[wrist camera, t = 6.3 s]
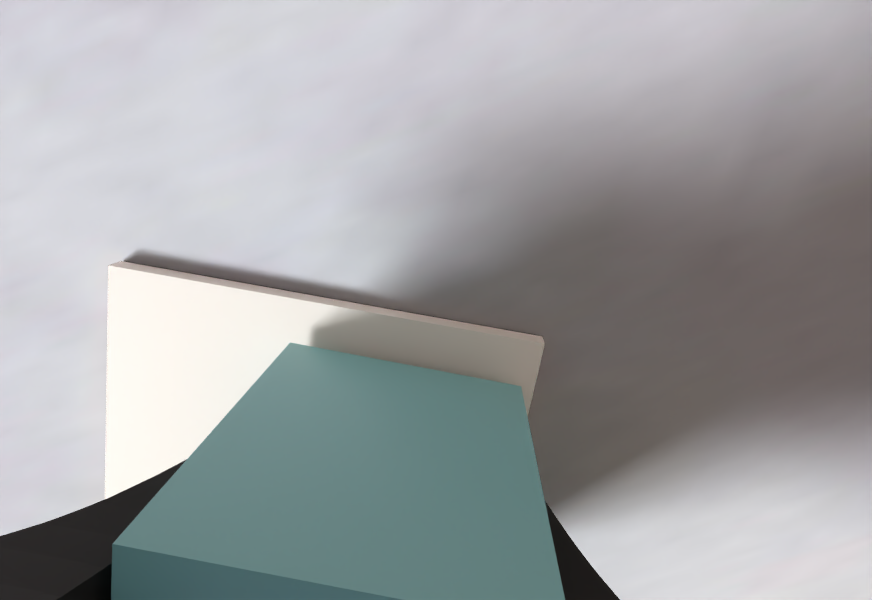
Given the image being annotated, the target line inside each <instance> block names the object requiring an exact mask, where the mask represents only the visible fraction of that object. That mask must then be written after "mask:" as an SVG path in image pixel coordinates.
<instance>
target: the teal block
mask: <svg viewBox="0 0 872 600" xmlns="http://www.w3.org/2000/svg"><path fill="white" fill-rule="evenodd" d="M111 600H565V597H564V592H563V587H562V582H561V577H560V572H559V567H558V563H557V558H556V553H555V548H554V543H553V538H552V533H551V529H550V524H549V519H548V514H547V509H546V504H545V500H544V495H543V490H542V485H541V480H540V475H539V470H538V466H537V461H536V456H535V451H534V446H533V441H532V436H531V432H530V427H529V422H528V417H527V412H526V407H525V403H524V398H523V393H522V388H521V386H517V385H512V384H507V383H502V382H496V381H491V380H486V379H480V378H475V377H470V376H465V375H459V374H454V373H449V372H444V371H438V370H433V369H428V368H422V367H417V366H412V365H407V364H401V363H396V362H391V361H385V360H380V359H375V358H370V357H364V356H359V355H354V354H349V353H343V352H338V351H333V350H327V349H322V348H317V347H312V346H306V345H301V344H296V343H291V342H290V343H289V344H288V345H287V347H286V348H285V349H284V350H283V351H282V352H281V353H280V354H279V356H278V357H277V358H276V359H275V360H274V361H273V362H272V364H271V365H270V366H269V367H268V368H267V369H266V370H265V371H264V373H263V374H262V375H261V376H260V377H259V378H258V379H257V381H256V382H255V383H254V384H253V385H252V386H251V387H250V388H249V390H248V391H247V392H246V393H245V394H244V395H243V396H242V398H241V399H240V400H239V401H238V402H237V403H236V404H235V405H234V407H233V408H232V409H231V410H230V411H229V412H228V413H227V415H226V416H225V417H224V418H223V419H222V420H221V421H220V422H219V424H218V425H217V426H216V427H215V428H214V429H213V430H212V432H211V433H210V434H209V435H208V436H207V437H206V438H205V439H204V441H203V442H202V443H201V444H200V445H199V446H198V447H197V449H196V450H195V451H194V452H193V453H192V454H191V455H190V456H189V458H188V459H187V460H186V461H185V462H184V463H183V464H182V466H181V467H180V468H179V469H178V470H177V471H176V472H175V473H174V475H173V476H172V477H171V478H170V479H169V480H168V481H167V483H166V484H165V485H164V486H163V487H162V488H161V489H160V490H159V492H158V493H157V494H156V495H155V496H154V497H153V498H152V500H151V501H150V502H149V503H148V504H147V505H146V506H145V507H144V509H143V510H142V511H141V512H140V513H139V514H138V515H137V517H136V518H135V519H134V520H133V521H132V522H131V523H130V525H129V526H128V527H127V528H126V529H125V530H124V531H123V532H122V534H121V535H120V536H119V537H118V538H117V539H116V540H115V542H114V543H113V544H112V578H111Z"/></svg>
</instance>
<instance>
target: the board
mask: <svg viewBox="0 0 872 600" xmlns="http://www.w3.org/2000/svg"><path fill="white" fill-rule="evenodd" d="M290 342H291V343H296V344H301V345H306V346H312V347H317V348H322V349H327V350H333V351H338V352H343V353H349V354H354V355H359V356H364V357H370V358H375V359H380V360H385V361H391V362H396V363H401V364H407V365H412V366H417V367H422V368H428V369H433V370H438V371H444V372H449V373H454V374H459V375H465V376H470V377H475V378H480V379H486V380H491V381H496V382H502V383H507V384H512V385H517V386H521V388H522V393H523V398H524V403H525V407H526V412H527V417H528V414H529V410H530V405H531V401H532V397H533V393H534V388H535V384H536V380H537V375H538V371H539V367H540V363H541V358H542V354H543V350H544V345H545V342H544V340H543V337H542V336H537V335H531V334H526V333H520V332H515V331H509V330H504V329H498V328H492V327H487V326H481V325H476V324H470V323H464V322H459V321H453V320H448V319H442V318H436V317H431V316H425V315H420V314H414V313H409V312H403V311H397V310H392V309H386V308H381V307H375V306H369V305H364V304H358V303H353V302H347V301H341V300H336V299H330V298H325V297H319V296H313V295H308V294H302V293H297V292H291V291H286V290H280V289H274V288H269V287H263V286H258V285H252V284H246V283H241V282H235V281H230V280H224V279H218V278H213V277H207V276H202V275H196V274H191V273H185V272H179V271H174V270H168V269H163V268H157V267H151V266H146V265H140V264H135V263H129V262H123V261H120V262H117V263H114V264H111V265H108V319H107V385H106V450H105V499H107V498H109V497H112V496H114V495H116V494H118V493H120V492H122V491H124V490H126V489H128V488H131V487H133V486H135V485H137V484H139V483H141V482H143V481H145V480H147V479H150V478H152V477H154V476H156V475H158V474H160V473H162V472H164V471H165V470H167V469H169V468H171V467H173V466H175V465H177V464H179V463H180V462H182V461H184V460H186V459H188V458H189V456H190V455H191V454H192V453H193V452H194V451H195V450H196V449H197V447H198V446H199V445H200V444H201V443H202V442H203V441H204V439H205V438H206V437H207V436H208V435H209V434H210V433H211V432H212V430H213V429H214V428H215V427H216V426H217V425H218V424H219V422H220V421H221V420H222V419H223V418H224V417H225V416H226V415H227V413H228V412H229V411H230V410H231V409H232V408H233V407H234V405H235V404H236V403H237V402H238V401H239V400H240V399H241V398H242V396H243V395H244V394H245V393H246V392H247V391H248V390H249V388H250V387H251V386H252V385H253V384H254V383H255V382H256V381H257V379H258V378H259V377H260V376H261V375H262V374H263V373H264V371H265V370H266V369H267V368H268V367H269V366H270V365H271V364H272V362H273V361H274V360H275V359H276V358H277V357H278V356H279V354H280V353H281V352H282V351H283V350H284V349H285V348H286V347H287V345H288V344H289V343H290Z"/></svg>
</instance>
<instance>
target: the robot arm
mask: <svg viewBox="0 0 872 600" xmlns="http://www.w3.org/2000/svg"><path fill="white" fill-rule="evenodd" d="M186 460H187V459H186ZM186 460H184V461H182V462H180V463H179V464H177V465H175V466H173V467H171V468H169V469H167V470H165V471H164V472H162V473H160V474H158V475H156V476H154V477H152V478H150V479H147V480H145V481H143V482H141V483H139V484H137V485H135V486H133V487H131V488H128V489H126V490H124V491H122V492H120V493H118V494H116V495H114V496H112V497H109V498H107V499H105V500H102V501H100V502H98V503H95V504H93V505H90V506H88V507H85V508H83V509H80V510H78V511H75V512H72V513H70V514H67V515H64V516H62V517H59V518H56V519H54V520H51V521H48V522H45V523H42V524H39V525H35V526H32V527H29V528H26V529H22V530H19V531H16V532H13V533H10V534H6V535H3V536H0V600H111V578H112V544H113V543H114V542H115V540H116V539H117V538H118V537H119V536H120V535H121V534H122V532H123V531H124V530H125V529H126V528H127V527H128V526H129V525H130V523H131V522H132V521H133V520H134V519H135V518H136V517H137V515H138V514H139V513H140V512H141V511H142V510H143V509H144V507H145V506H146V505H147V504H148V503H149V502H150V501H151V500H152V498H153V497H154V496H155V495H156V494H157V493H158V492H159V490H160V489H161V488H162V487H163V486H164V485H165V484H166V483H167V481H168V480H169V479H170V478H171V477H172V476H173V475H174V473H175V472H176V471H177V470H178V469H179V468H180V467H181V466H182V464H183V463H184V462H185V461H186ZM545 504H546V509H547V514H548V519H549V524H550V529H551V533H552V538H553V543H554V548H555V553H556V558H557V563H558V567H559V572H560V577H561V582H562V587H563V592H564V597H565V600H620V599H619V598H618V597H617V596H616V595H615V594H614V593H613V591H612V590H611V589H610V588H609V587H608V585H607V584H606V583H605V582H604V581H603V579H602V578H601V577H600V576H599V575H598V574H597V572H596V571H595V570H594V569H593V567H592V566H591V565H590V563H589V562H588V561H587V560H586V558H585V557H584V556H583V554H582V553H581V552H580V550H579V549H578V548H577V546H576V545H575V544H574V542H573V541H572V540H571V538H570V537H569V535H568V534H567V533H566V531H565V530H564V528H563V527H562V525H561V524H560V522H559V521H558V519H557V518H556V517H555V515H554V514H553V512H552V511H551V509H550V508H549V506H548V505H547V503H546V502H545Z"/></svg>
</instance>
